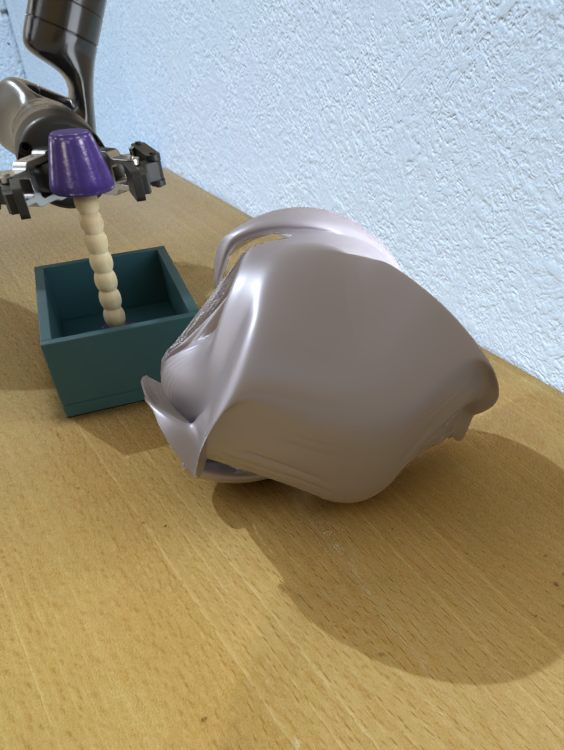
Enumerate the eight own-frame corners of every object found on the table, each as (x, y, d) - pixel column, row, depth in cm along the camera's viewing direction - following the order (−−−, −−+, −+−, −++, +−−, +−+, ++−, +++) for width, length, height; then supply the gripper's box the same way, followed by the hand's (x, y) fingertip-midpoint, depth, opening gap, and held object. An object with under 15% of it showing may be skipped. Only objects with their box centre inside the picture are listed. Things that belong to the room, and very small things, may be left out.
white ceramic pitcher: (193, 593, 40) (158, 391, 29) (137, 402, 50) (96, 199, 39) (493, 511, 46) (558, 321, 35) (389, 357, 57) (414, 172, 46)
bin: (55, 329, 66) (33, 266, 62) (177, 306, 69) (164, 245, 65) (66, 417, 53) (40, 345, 49) (216, 384, 56) (201, 314, 53)
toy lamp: (131, 327, 63) (74, 122, 53) (165, 339, 61) (113, 127, 51) (86, 348, 60) (18, 134, 50) (121, 361, 58) (56, 140, 48)
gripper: (-42, 117, 59) (-42, 154, 48) (128, 98, 64) (165, 128, 52) (-8, 209, 64) (-1, 263, 52) (147, 185, 68) (186, 230, 57)
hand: (82, 196), depth 52 cm, fingers open, 8 cm apart
